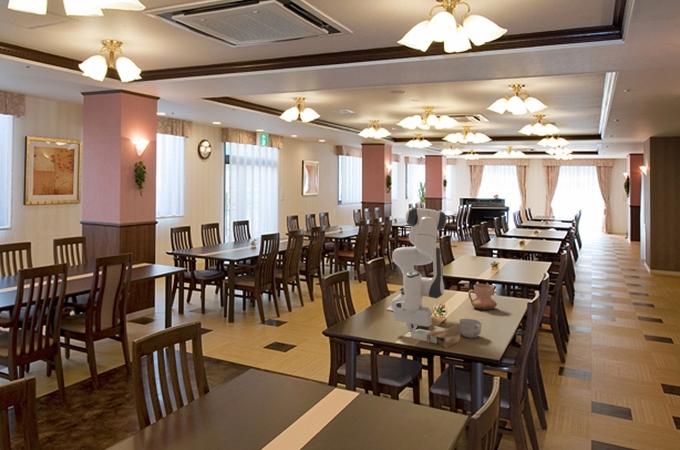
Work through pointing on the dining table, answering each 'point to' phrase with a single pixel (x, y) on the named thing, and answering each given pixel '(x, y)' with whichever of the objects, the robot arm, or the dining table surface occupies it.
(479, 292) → the ceramic jug
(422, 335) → the tray
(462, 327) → the teacup
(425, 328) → the food container
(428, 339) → the tan notched block
